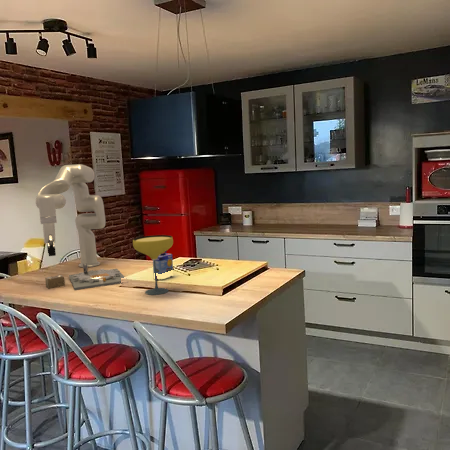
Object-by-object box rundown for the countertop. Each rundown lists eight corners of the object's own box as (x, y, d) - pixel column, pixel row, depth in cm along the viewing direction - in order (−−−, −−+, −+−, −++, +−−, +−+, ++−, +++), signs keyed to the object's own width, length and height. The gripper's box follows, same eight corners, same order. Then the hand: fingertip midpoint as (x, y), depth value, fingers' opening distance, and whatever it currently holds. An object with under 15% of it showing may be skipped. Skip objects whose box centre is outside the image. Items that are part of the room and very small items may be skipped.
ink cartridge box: (161, 280, 237) (159, 252, 235) (153, 279, 240) (151, 251, 238) (174, 276, 245) (172, 249, 243) (166, 275, 248) (164, 248, 246)
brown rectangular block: (46, 287, 237) (44, 277, 236) (61, 284, 241) (60, 274, 241) (48, 289, 233) (47, 278, 232) (65, 286, 237) (64, 275, 237)
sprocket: (63, 280, 242) (61, 268, 241) (96, 270, 263) (95, 259, 262) (97, 284, 230) (96, 271, 230) (130, 273, 251) (129, 261, 250)
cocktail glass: (133, 290, 222) (129, 237, 218) (171, 284, 228) (167, 233, 225) (141, 299, 205) (136, 243, 202) (181, 293, 211) (177, 238, 208)
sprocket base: (69, 277, 257) (68, 271, 256) (116, 270, 266) (116, 265, 266) (74, 290, 227) (74, 283, 227) (128, 282, 237) (127, 276, 237)
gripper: (39, 219, 239) (43, 252, 241) (40, 222, 223) (44, 257, 225) (55, 218, 242) (58, 251, 244) (57, 221, 226) (60, 256, 228)
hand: (51, 254), depth 235 cm, fingers open, 9 cm apart
